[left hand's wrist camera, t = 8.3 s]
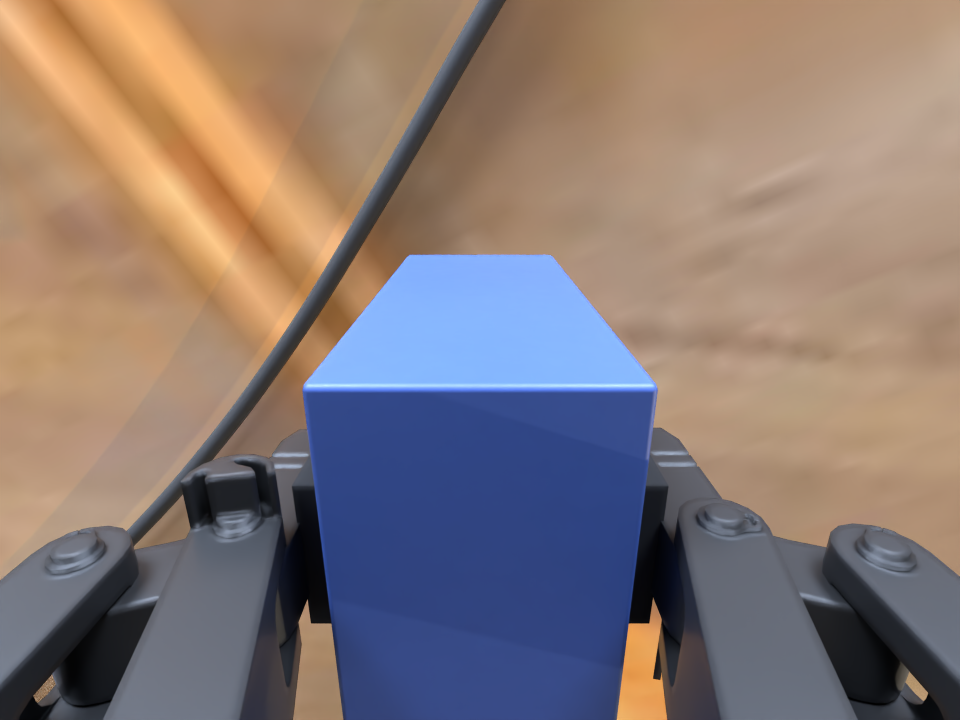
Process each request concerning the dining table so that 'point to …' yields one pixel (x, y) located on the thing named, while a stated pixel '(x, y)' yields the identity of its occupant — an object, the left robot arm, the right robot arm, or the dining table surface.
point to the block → (480, 494)
